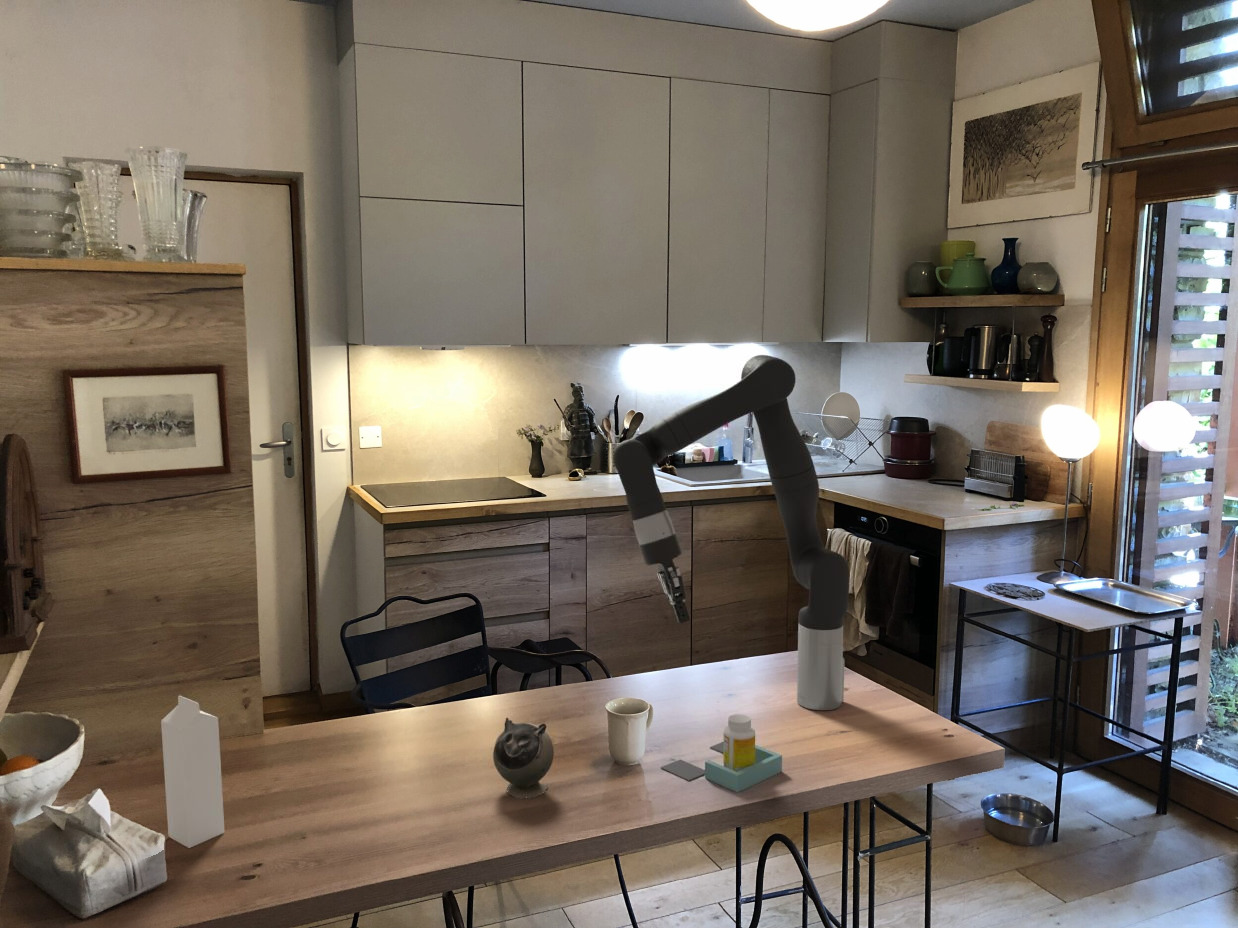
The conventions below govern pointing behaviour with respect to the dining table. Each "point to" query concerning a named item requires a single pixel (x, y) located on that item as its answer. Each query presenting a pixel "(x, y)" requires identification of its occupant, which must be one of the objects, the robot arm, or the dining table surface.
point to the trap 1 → (684, 770)
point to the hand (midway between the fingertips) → (684, 621)
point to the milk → (192, 774)
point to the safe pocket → (745, 771)
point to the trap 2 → (718, 747)
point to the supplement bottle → (739, 743)
